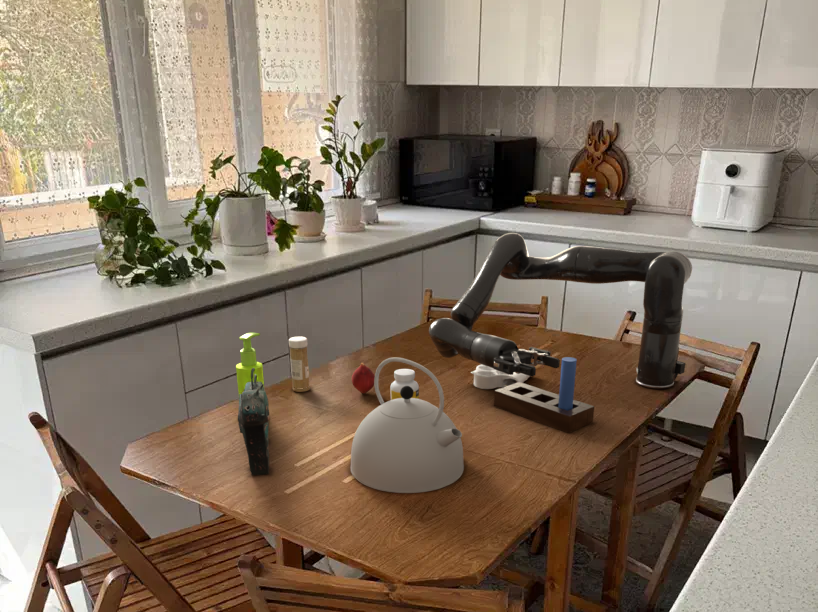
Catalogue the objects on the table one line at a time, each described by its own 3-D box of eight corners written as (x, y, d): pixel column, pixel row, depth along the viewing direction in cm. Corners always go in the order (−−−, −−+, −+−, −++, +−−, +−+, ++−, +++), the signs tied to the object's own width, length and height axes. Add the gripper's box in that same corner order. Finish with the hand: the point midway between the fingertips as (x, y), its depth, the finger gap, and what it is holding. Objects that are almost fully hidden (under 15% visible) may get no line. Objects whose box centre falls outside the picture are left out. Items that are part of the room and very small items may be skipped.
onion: (380, 392, 197) (379, 361, 194) (366, 399, 192) (365, 368, 189) (361, 387, 200) (360, 358, 196) (347, 394, 195) (346, 364, 192)
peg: (563, 418, 180) (567, 356, 174) (574, 422, 178) (579, 359, 172) (554, 421, 178) (558, 359, 172) (565, 425, 176) (570, 362, 170)
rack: (518, 397, 193) (519, 381, 191) (592, 422, 178) (594, 406, 176) (493, 406, 188) (494, 390, 186) (568, 433, 172) (569, 416, 171)
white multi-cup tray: (514, 394, 195) (460, 385, 201) (538, 373, 209) (487, 365, 216) (514, 381, 193) (460, 372, 200) (539, 361, 208) (487, 353, 214)
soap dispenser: (274, 415, 183) (267, 332, 175) (257, 425, 177) (249, 340, 169) (253, 411, 185) (246, 329, 177) (235, 421, 179) (227, 337, 171)
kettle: (495, 468, 156) (500, 360, 147) (419, 509, 141) (419, 391, 132) (404, 434, 172) (404, 335, 163) (327, 468, 157) (321, 360, 148)
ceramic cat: (274, 477, 153) (266, 381, 145) (240, 480, 152) (230, 383, 144) (273, 437, 171) (266, 349, 163) (243, 439, 170) (235, 351, 162)
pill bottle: (416, 426, 176) (415, 377, 172) (388, 424, 177) (387, 375, 173) (421, 415, 182) (421, 368, 178) (394, 413, 183) (393, 366, 179)
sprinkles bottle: (313, 389, 199) (310, 338, 193) (299, 393, 196) (296, 342, 190) (302, 385, 202) (299, 334, 196) (288, 389, 199) (284, 338, 193)
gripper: (474, 342, 183) (527, 358, 172) (514, 331, 192) (567, 345, 181) (473, 373, 186) (525, 390, 175) (512, 360, 195) (565, 376, 184)
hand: (546, 367), depth 178 cm, fingers open, 8 cm apart
